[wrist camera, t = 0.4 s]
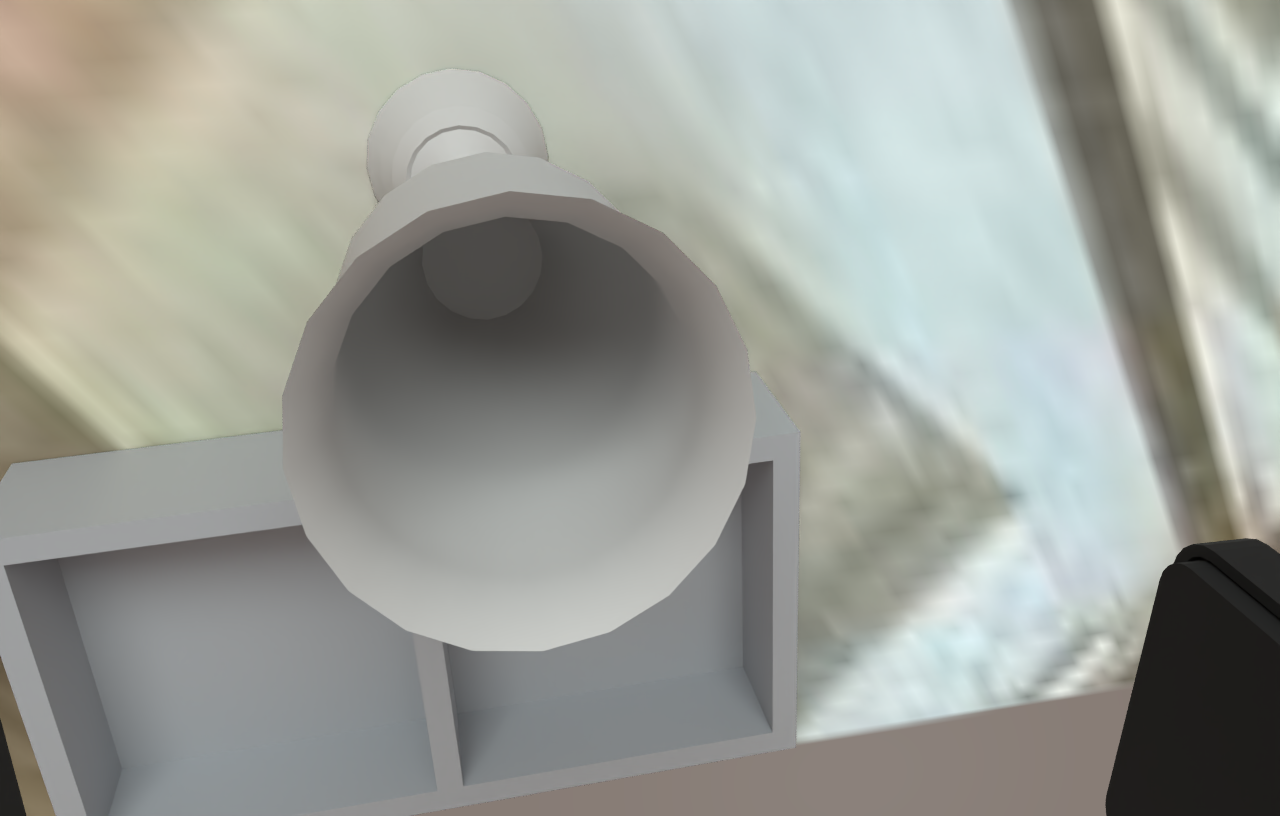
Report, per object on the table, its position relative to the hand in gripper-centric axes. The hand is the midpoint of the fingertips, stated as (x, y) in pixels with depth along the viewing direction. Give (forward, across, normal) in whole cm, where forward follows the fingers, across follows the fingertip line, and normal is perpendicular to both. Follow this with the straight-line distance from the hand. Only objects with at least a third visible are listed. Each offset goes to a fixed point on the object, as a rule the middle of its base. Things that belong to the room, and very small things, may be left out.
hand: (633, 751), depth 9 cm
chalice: (+26, 0, +1) cm, 26 cm away
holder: (+26, +1, +15) cm, 30 cm away
